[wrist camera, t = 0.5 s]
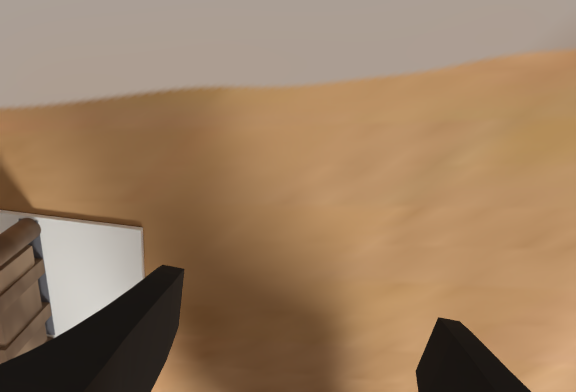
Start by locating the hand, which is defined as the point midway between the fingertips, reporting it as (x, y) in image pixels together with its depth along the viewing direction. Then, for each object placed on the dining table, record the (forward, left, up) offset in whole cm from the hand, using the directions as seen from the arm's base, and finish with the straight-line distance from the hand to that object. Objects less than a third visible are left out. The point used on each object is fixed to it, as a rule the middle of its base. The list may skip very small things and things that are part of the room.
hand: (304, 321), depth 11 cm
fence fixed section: (-8, +14, -9) cm, 19 cm away
